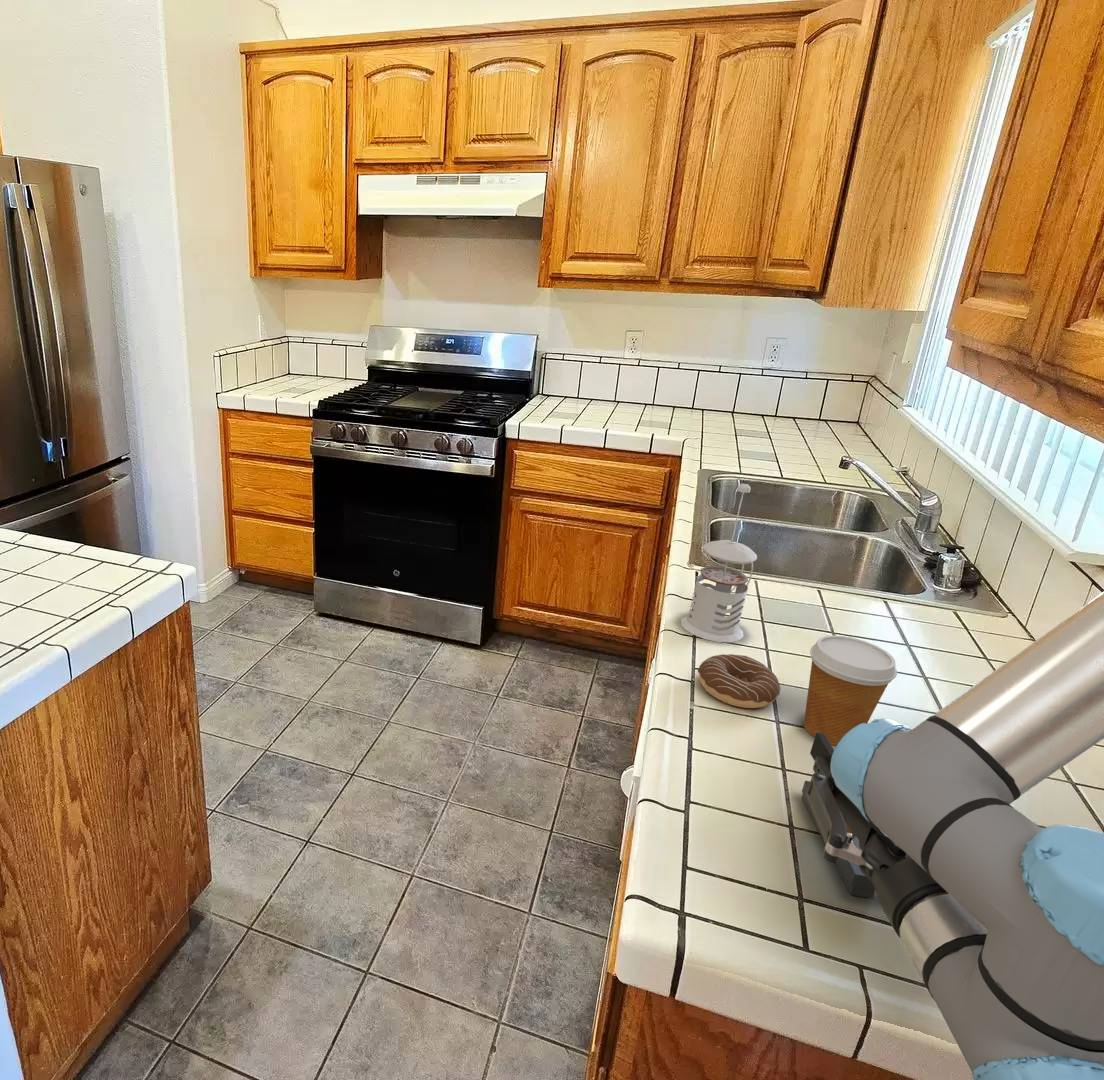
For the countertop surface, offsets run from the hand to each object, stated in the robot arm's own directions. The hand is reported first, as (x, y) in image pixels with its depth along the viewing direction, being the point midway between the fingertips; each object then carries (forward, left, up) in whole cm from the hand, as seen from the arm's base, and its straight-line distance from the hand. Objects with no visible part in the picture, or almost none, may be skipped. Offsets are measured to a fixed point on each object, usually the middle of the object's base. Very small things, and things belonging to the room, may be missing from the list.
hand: (835, 746), depth 81 cm
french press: (+1, -45, -9) cm, 45 cm away
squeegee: (0, +5, -8) cm, 10 cm away
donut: (+3, -24, -9) cm, 26 cm away
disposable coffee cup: (-7, -17, -9) cm, 20 cm away
